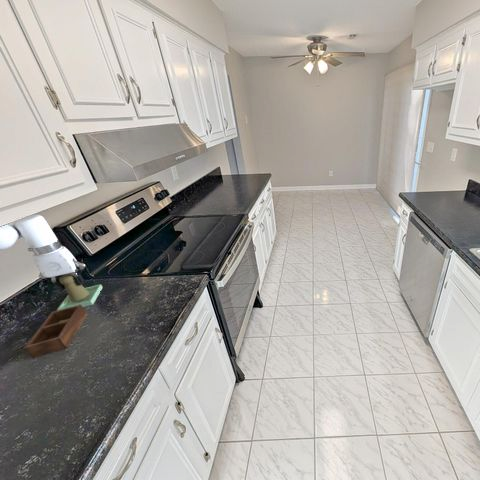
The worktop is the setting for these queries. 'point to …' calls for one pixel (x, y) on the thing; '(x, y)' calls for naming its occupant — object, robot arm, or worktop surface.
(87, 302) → the tray
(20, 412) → the worktop surface
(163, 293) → the worktop surface
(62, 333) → the caddy
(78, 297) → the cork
